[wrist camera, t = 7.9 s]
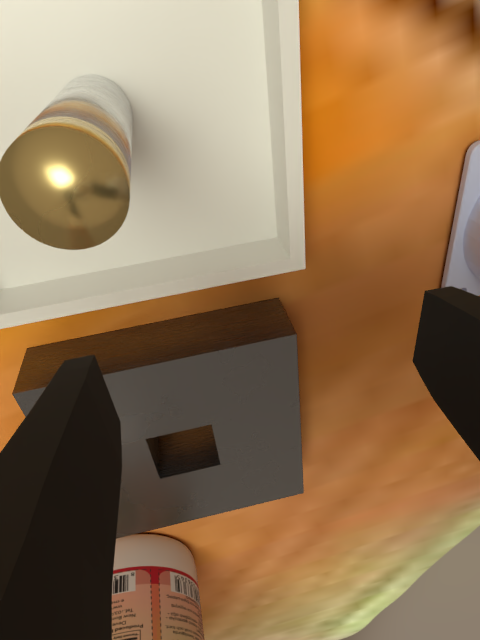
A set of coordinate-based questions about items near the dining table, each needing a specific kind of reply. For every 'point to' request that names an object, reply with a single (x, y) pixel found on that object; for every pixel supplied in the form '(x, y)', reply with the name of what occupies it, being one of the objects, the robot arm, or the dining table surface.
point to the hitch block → (194, 410)
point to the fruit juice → (155, 590)
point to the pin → (72, 166)
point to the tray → (164, 146)
